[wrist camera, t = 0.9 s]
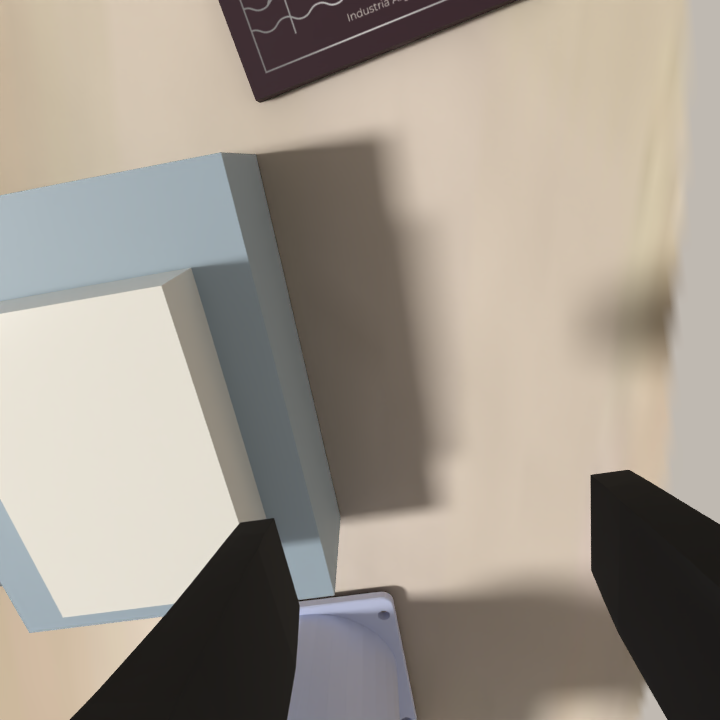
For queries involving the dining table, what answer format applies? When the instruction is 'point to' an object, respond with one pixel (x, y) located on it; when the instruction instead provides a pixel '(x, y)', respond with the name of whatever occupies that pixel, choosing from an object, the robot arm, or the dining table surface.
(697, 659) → the robot arm
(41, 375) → the tile
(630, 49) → the dining table surface
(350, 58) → the chocolate bar
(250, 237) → the plate
